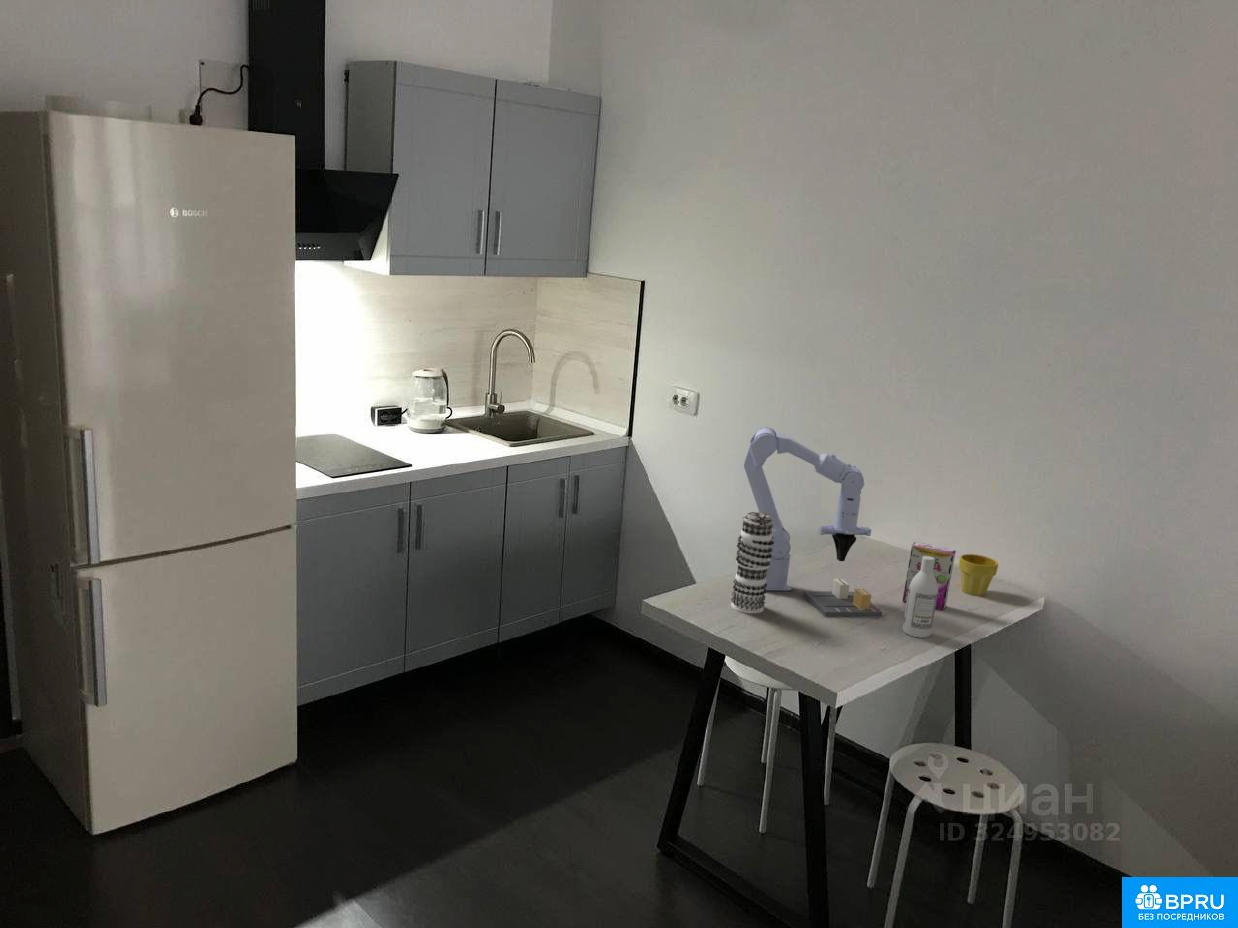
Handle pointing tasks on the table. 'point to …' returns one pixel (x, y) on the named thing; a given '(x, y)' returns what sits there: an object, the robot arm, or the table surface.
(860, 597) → the amber fader knob
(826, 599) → the mixing board
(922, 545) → the candy bar box
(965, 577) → the plant pot
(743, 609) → the decorative candle
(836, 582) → the cream fader knob
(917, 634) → the bath foam
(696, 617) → the table surface
